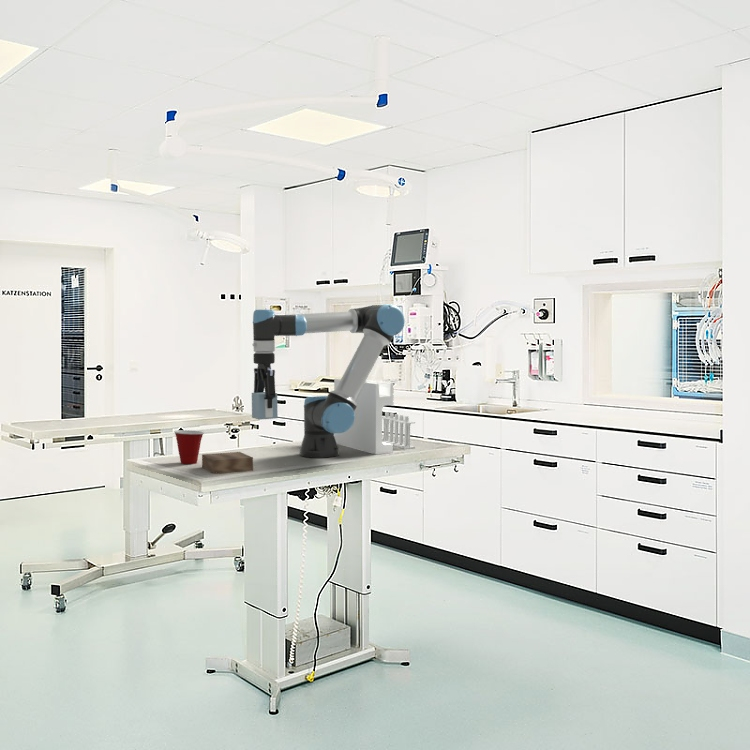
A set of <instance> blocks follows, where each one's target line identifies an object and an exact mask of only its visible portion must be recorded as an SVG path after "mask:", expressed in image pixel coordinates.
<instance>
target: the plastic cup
mask: <svg viewBox="0 0 750 750" xmlns="http://www.w3.org/2000/svg"><path fill="white" fill-rule="evenodd" d="M173 432H174V434H175V438H176V444H177V450H178V455H179V460H180V463H181V465H194V464H197V463H198V460H199V459H198V458H199V453H200V448H201V443H202V442H201V441H202V440H203V439H202V438H203V435H204V434H205V432H204V431H201V430H192V429H191V430H190V429H189V430H187V429H186V430H185V429H183V430H181V429H178V430H174V431H173Z"/></svg>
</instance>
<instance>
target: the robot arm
mask: <svg viewBox="0 0 750 750" xmlns="http://www.w3.org/2000/svg"><path fill="white" fill-rule="evenodd" d="M405 322H406V321H405V315H404V314H403V310H401V309H400V308H399V307H398V306H397V305H394V304H388V303H385V304H373V305H368V306H367V305H366V306H364V307H359V308H356V307H355V308H350V309H349V310H348V311H334V312H317V313H316V312H315V313H301V314H300V313H298V314H275V311H274V309H255V310H254V311H253V314H252V329H253V330H252V331H253V332H252V335H253V339H252V340H253V343H252V347H253V363H254V364H257V367H254V368H253V371H254V372H253V373H254V377H253V378H254V380H253V382H254V383H253V393H259V392H265V395H266V397H265V398H264V399H265V418H268V417H273V398H275V397H276V395H275V393H276V381H275V380H276V379H275V375H276V374H275V373H276V371H275V369H272V366H271V364H275V361H276V360H275V359H276V358H275V353H274V352H275V351H276V350H275V349H276V348H275V347H276V344H275V343H276V342H275V337H278V336H279V337H281V336H282V337H287V336H288V337H290V336H291V337H294V336H295V337H298V336H299V337H300V336H304V335H305V334H315V333H316V334H317V333H332V332H335V333H337V332H349V333H352V334H363V337H362V339H361V341H360V343H359V345H358V346H357V348H356V351H355V352H354V354H353V355H352V358H351V360H350V362H349V363H348V365H347V367H346V369H345V371H344V373H343V375H342V377H341V378H340V379H341V380H340V382H339V384H338V386H337V388H336V389H335V390H331V391H328V392H329V393H328V394H327V395H320V396H307V397H306V398H305V399H304V402H303V403H304V404H303V414H304V415H303V425H304V427H303V428H304V429H303V432H304V434H303V438H302V442H301V445H300V448H299V456H301V457H304V458H305V457H306V458H318V459H319V458H321V459H323V458H332V457H336V456H339V447H338V446H339V445H338V444H337V443H336V440H335V437H334V433H343V432H346V431H347V430H349V429H350V428H351V426H352V425H353V423H354V420H355V415H354V411H355V409H356V407H357V405H356V402H355V401H356V398H357V396H358V394H359V392H360V391H361V389H362V387H363V385H364V383H365V381H366V380H368V377H369V375H370V373H371V372H372V369H373V368H374V365H375V364H376V362H377V360H378V358H379V357H380V355H381V352H382V350H383V348H384V347H385V346H389V345H390V344H391V342H392V340H393V338H394V336H397V335H399V334H400V333H401V332H403V330H404V327H405ZM254 352H255V353H254Z"/></svg>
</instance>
